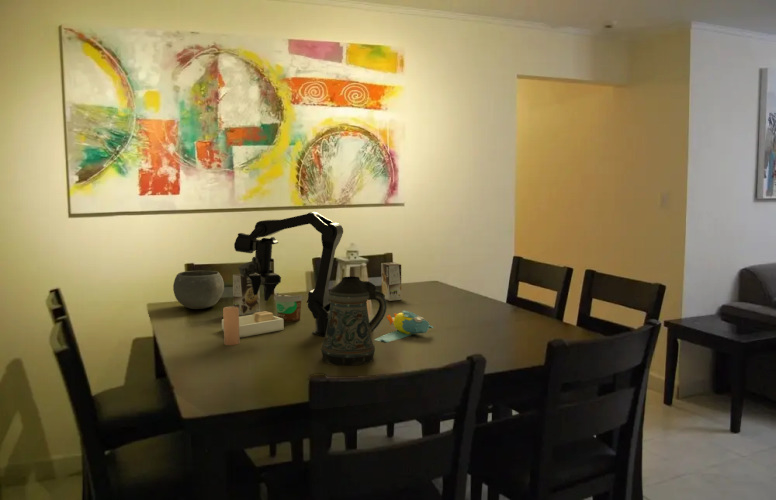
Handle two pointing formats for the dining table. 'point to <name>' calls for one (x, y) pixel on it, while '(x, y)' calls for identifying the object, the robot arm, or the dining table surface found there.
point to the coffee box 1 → (245, 295)
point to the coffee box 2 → (391, 280)
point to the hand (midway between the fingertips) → (260, 297)
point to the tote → (257, 325)
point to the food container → (288, 307)
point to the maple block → (263, 316)
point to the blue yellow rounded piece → (405, 326)
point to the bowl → (198, 288)
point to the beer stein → (351, 323)
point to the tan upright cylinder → (231, 325)
